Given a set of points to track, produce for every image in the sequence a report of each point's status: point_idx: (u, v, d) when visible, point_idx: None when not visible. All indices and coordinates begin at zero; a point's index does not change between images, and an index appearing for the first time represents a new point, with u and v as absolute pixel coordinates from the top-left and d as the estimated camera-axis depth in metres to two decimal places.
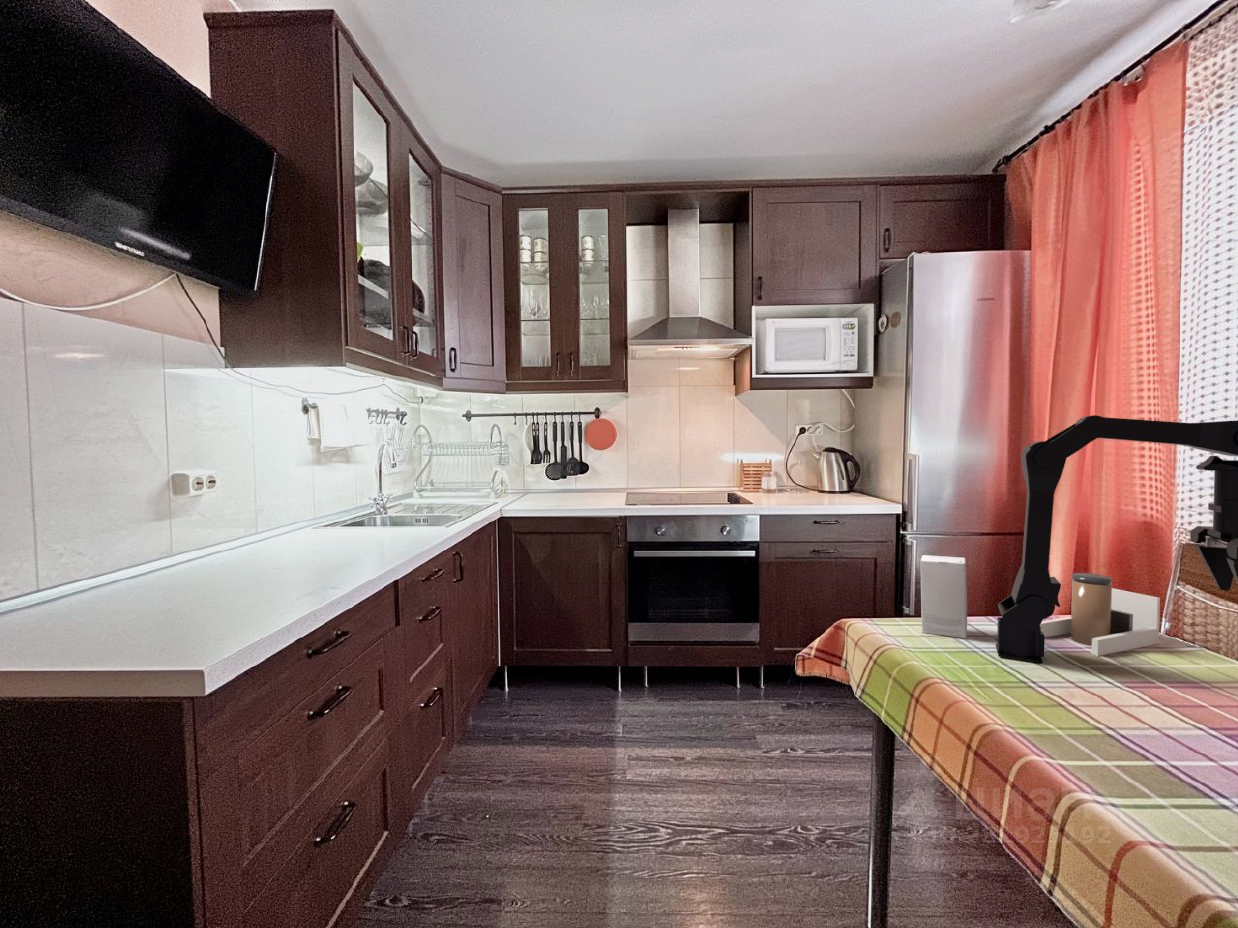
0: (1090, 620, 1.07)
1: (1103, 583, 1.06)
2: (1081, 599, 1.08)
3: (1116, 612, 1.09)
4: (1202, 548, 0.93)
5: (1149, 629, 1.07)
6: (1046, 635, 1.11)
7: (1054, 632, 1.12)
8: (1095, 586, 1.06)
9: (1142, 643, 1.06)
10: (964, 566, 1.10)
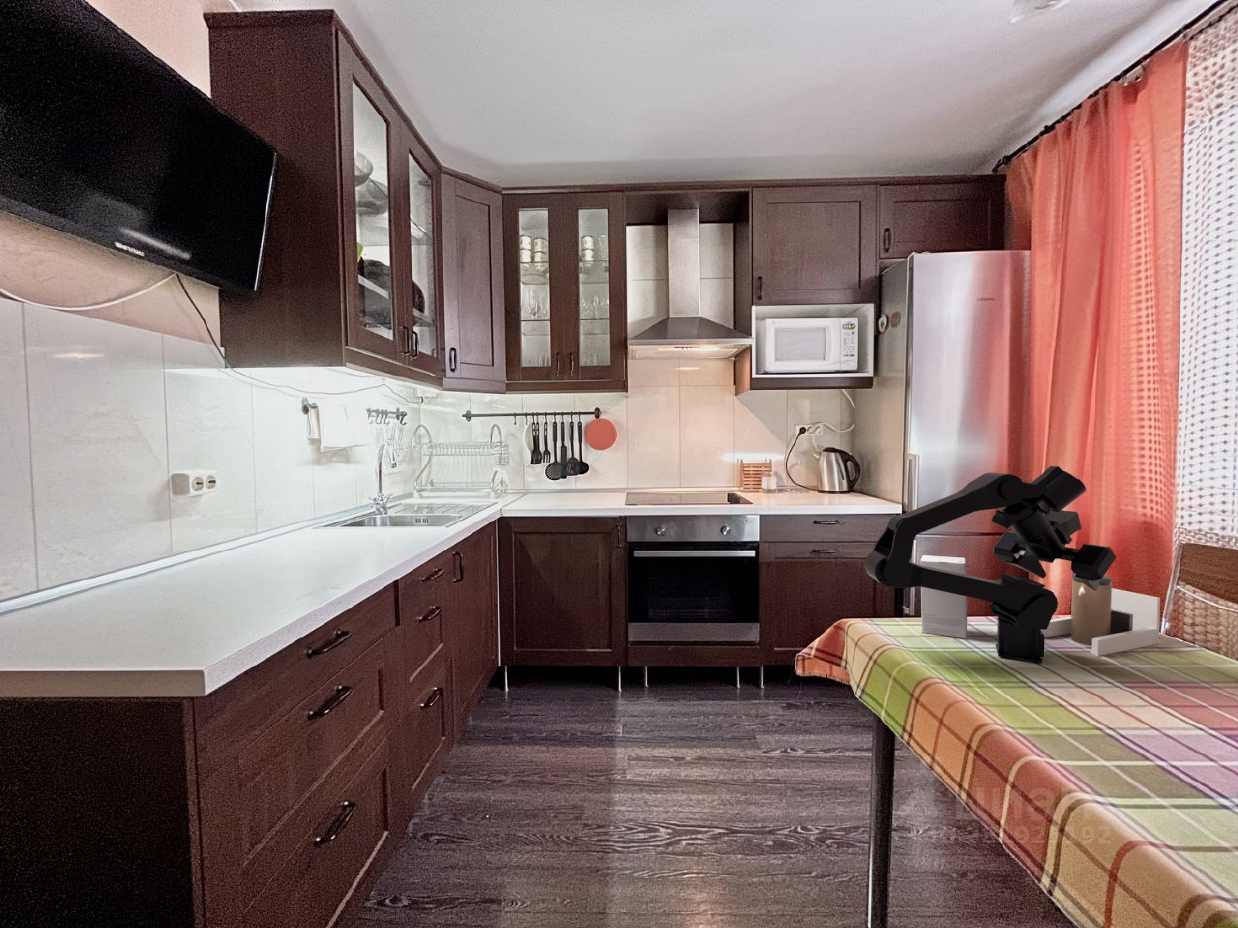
0: (1090, 620, 1.07)
1: (1103, 583, 1.06)
2: (1081, 599, 1.08)
3: (1116, 612, 1.09)
4: (1019, 563, 1.09)
5: (1149, 629, 1.07)
6: (1046, 635, 1.11)
7: (1054, 632, 1.12)
8: None
9: (1142, 643, 1.06)
10: (964, 566, 1.10)
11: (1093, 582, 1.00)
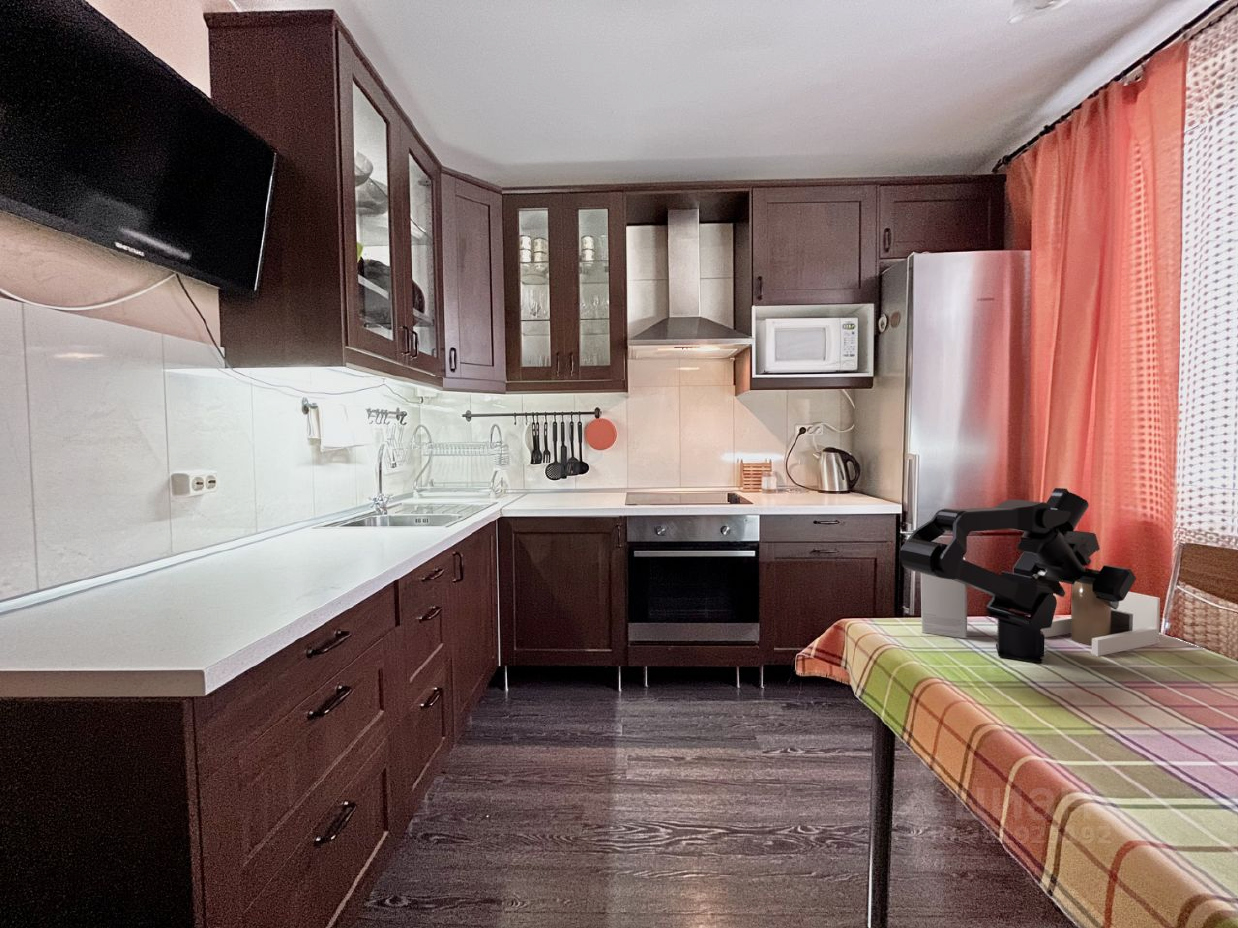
0: (1090, 620, 1.07)
1: None
2: (1081, 599, 1.08)
3: (1116, 612, 1.09)
4: None
5: (1149, 629, 1.07)
6: (1046, 635, 1.11)
7: (1054, 632, 1.12)
8: None
9: (1142, 643, 1.06)
10: None
11: (1113, 602, 1.02)
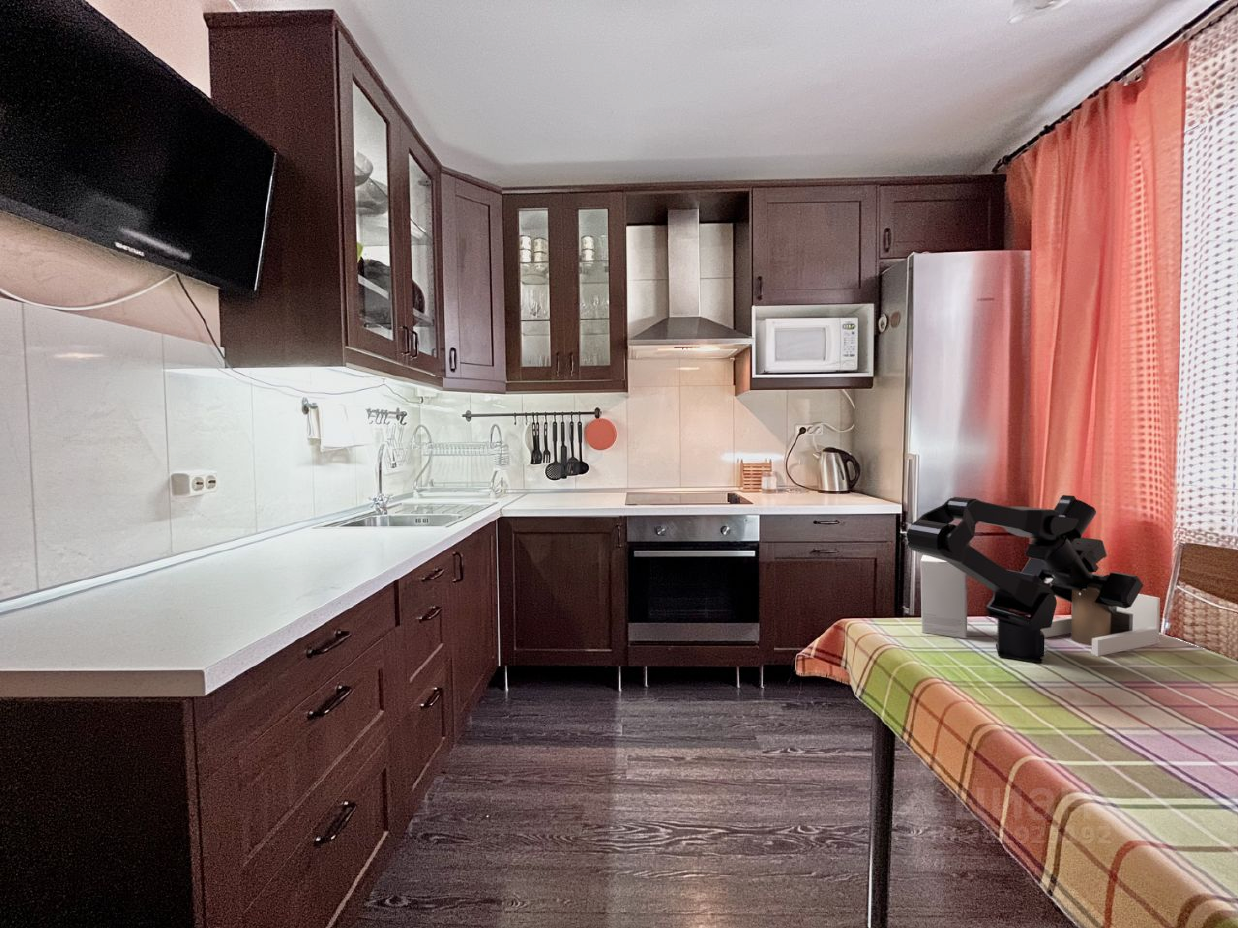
0: (1090, 620, 1.07)
1: None
2: (1081, 599, 1.08)
3: (1116, 612, 1.09)
4: (1053, 591, 1.11)
5: (1149, 629, 1.07)
6: (1046, 635, 1.11)
7: (1054, 632, 1.12)
8: None
9: (1142, 643, 1.06)
10: None
11: (1112, 607, 1.04)
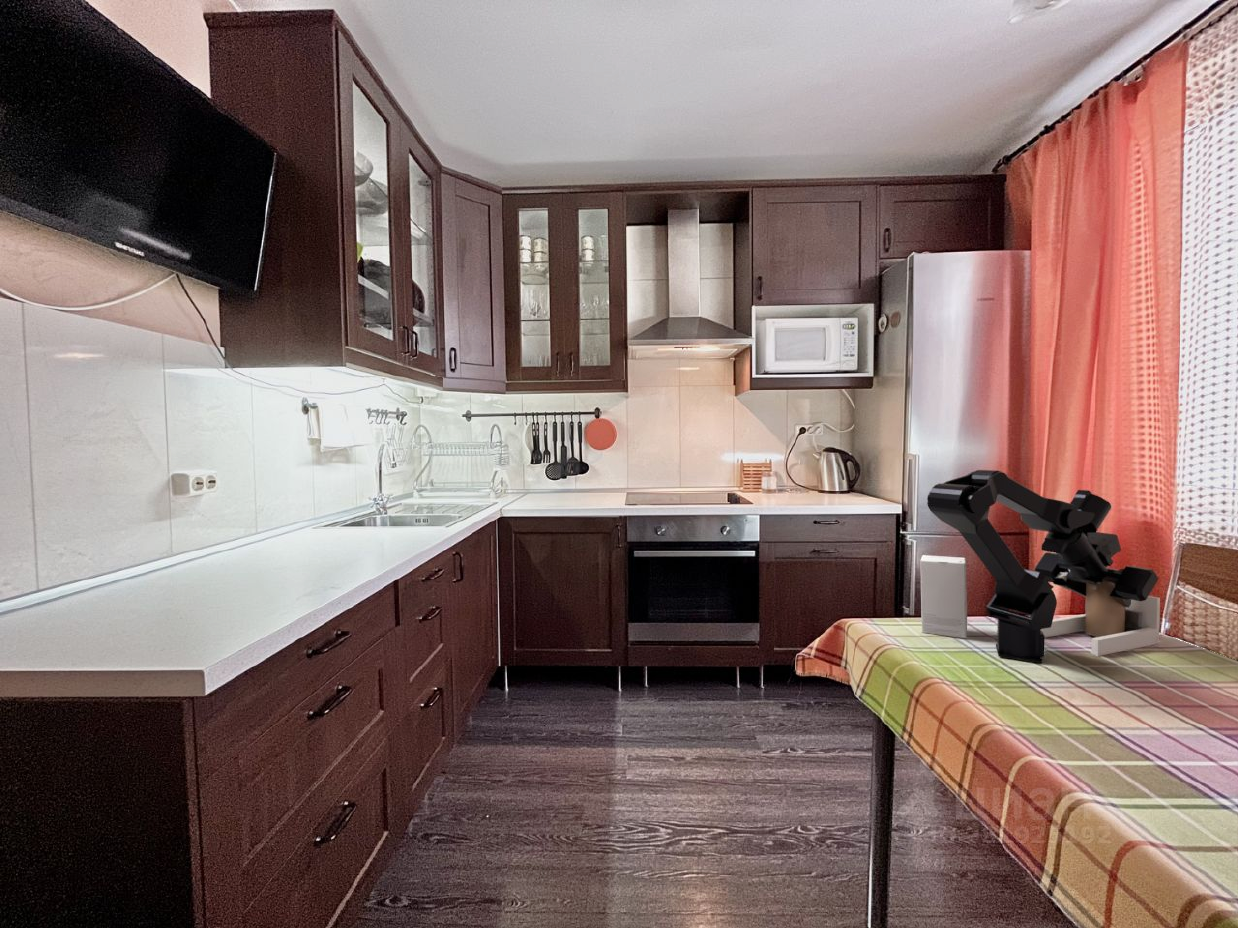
0: (1104, 614, 1.08)
1: None
2: (1096, 593, 1.09)
3: (1125, 610, 1.10)
4: (1068, 585, 1.12)
5: (1149, 629, 1.07)
6: (1046, 635, 1.11)
7: (1054, 632, 1.12)
8: None
9: (1142, 643, 1.06)
10: (964, 566, 1.10)
11: (1126, 600, 1.06)
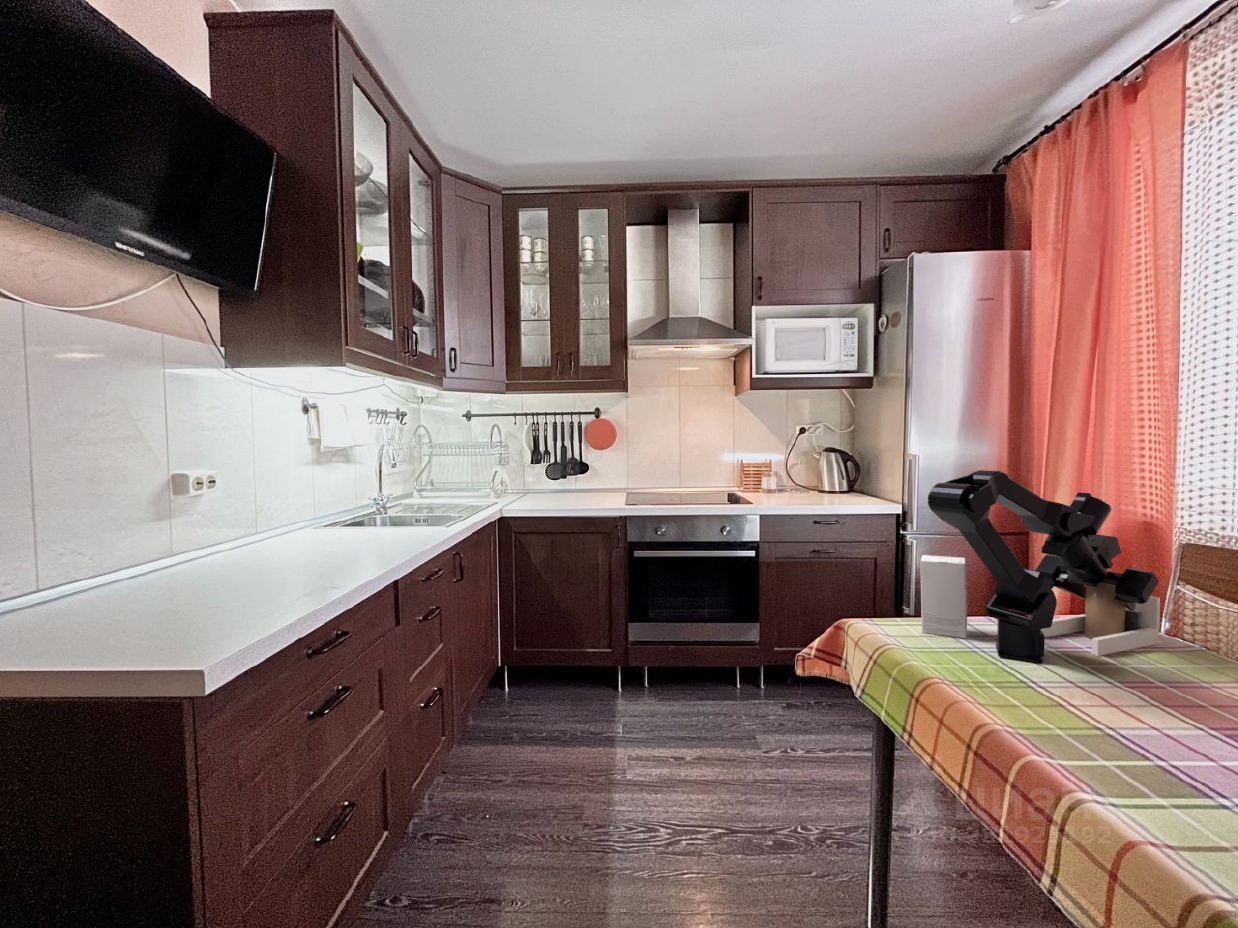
0: (1104, 618, 1.08)
1: None
2: (1095, 597, 1.09)
3: (1125, 610, 1.10)
4: (1064, 587, 1.13)
5: (1149, 629, 1.07)
6: (1046, 635, 1.11)
7: (1054, 632, 1.12)
8: (1110, 584, 1.08)
9: (1142, 643, 1.06)
10: (964, 566, 1.10)
11: (1131, 603, 1.05)
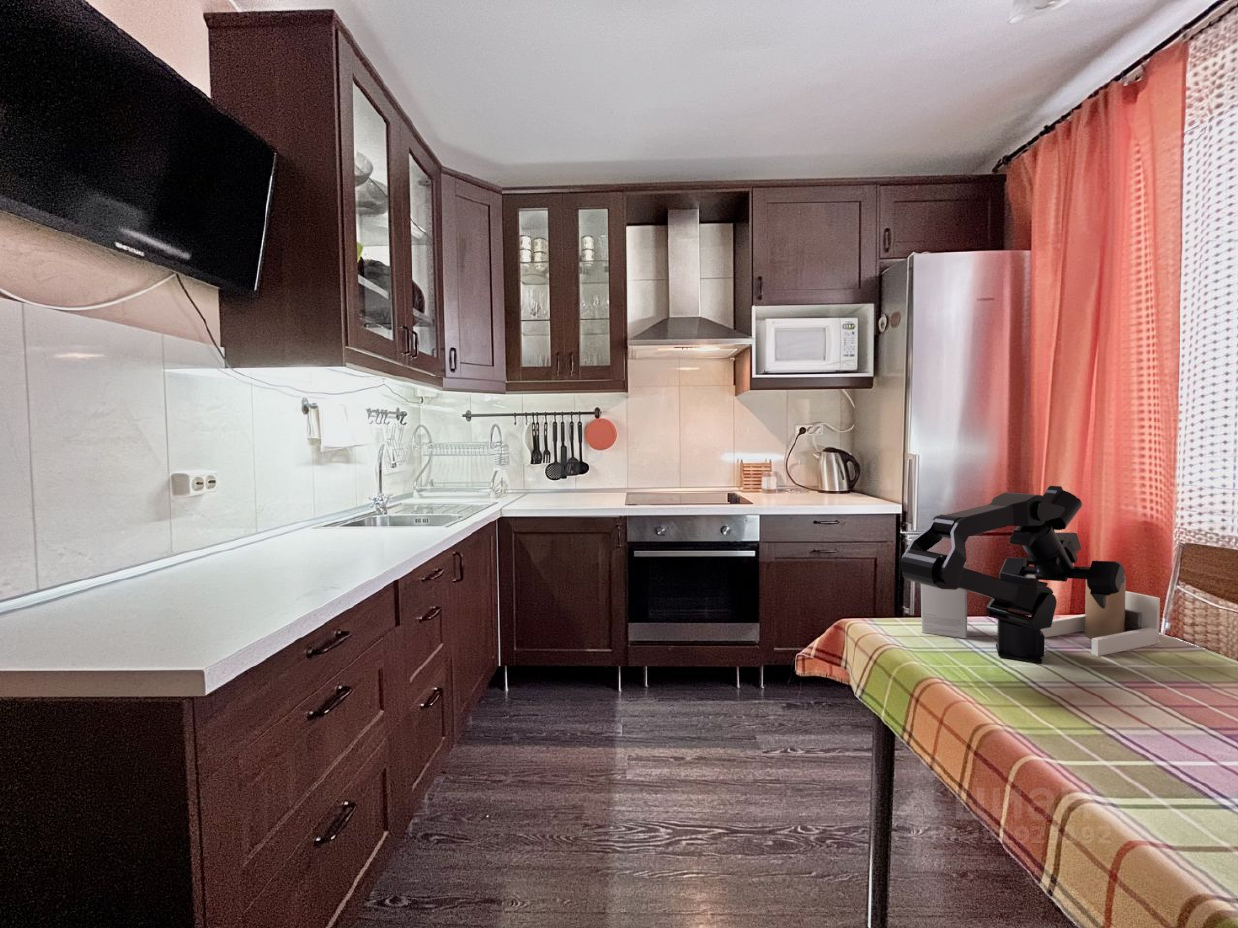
0: (1104, 618, 1.08)
1: None
2: None
3: (1125, 610, 1.10)
4: None
5: (1149, 629, 1.07)
6: (1046, 635, 1.11)
7: (1054, 632, 1.12)
8: None
9: (1142, 643, 1.06)
10: (964, 566, 1.10)
11: (1104, 599, 1.02)
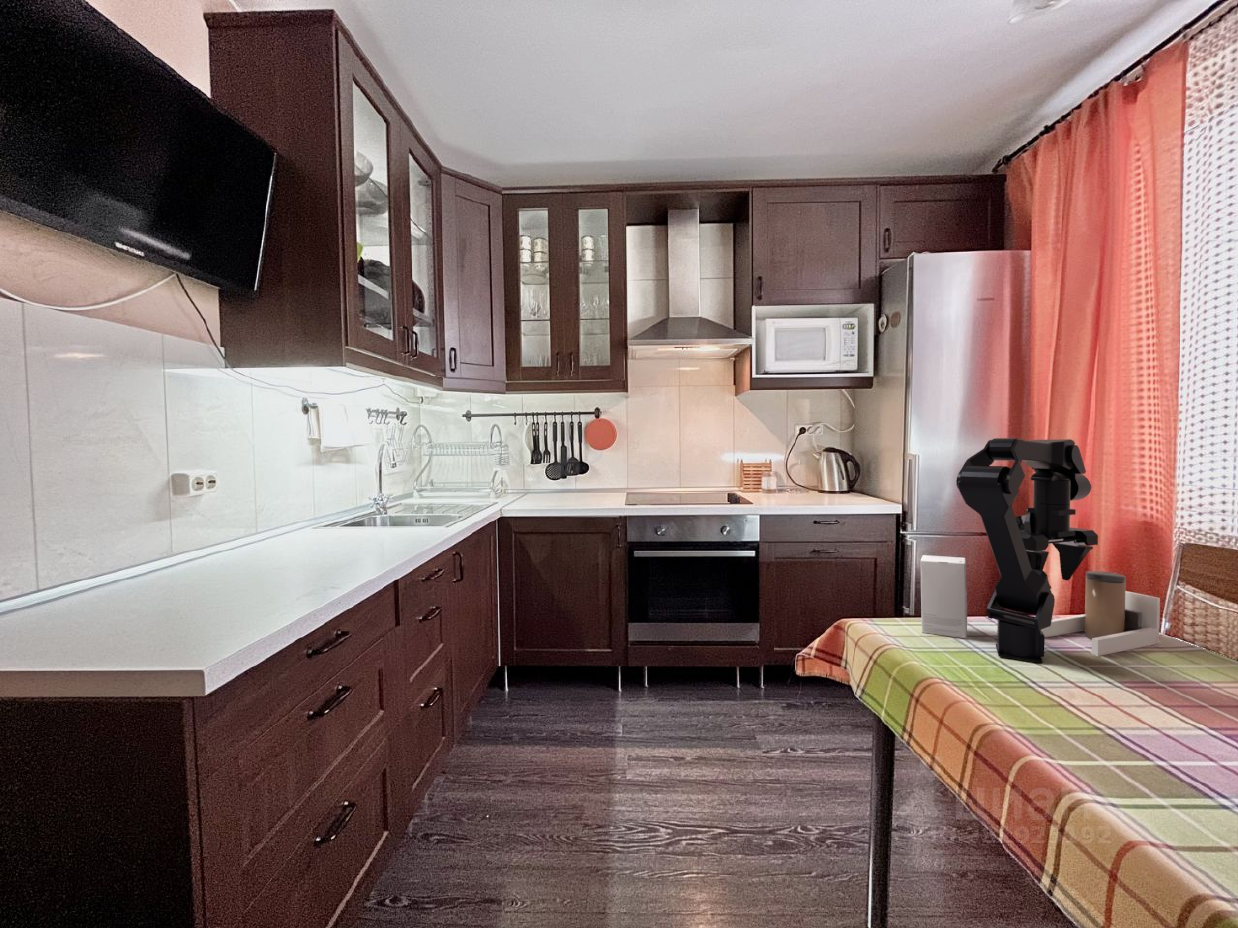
0: (1104, 618, 1.08)
1: (1117, 581, 1.07)
2: (1095, 597, 1.09)
3: (1125, 610, 1.10)
4: None
5: (1149, 629, 1.07)
6: (1046, 635, 1.11)
7: (1054, 632, 1.12)
8: (1109, 584, 1.08)
9: (1142, 643, 1.06)
10: (964, 566, 1.10)
11: None
